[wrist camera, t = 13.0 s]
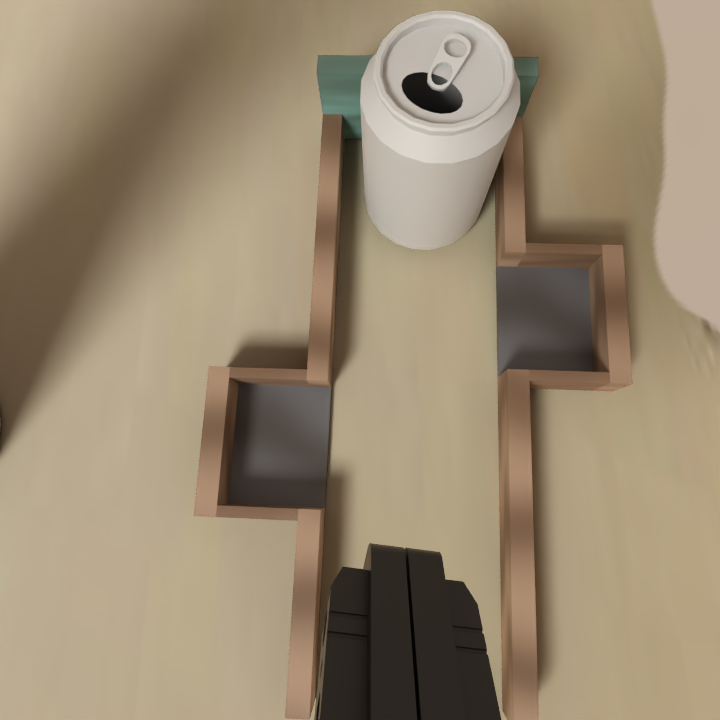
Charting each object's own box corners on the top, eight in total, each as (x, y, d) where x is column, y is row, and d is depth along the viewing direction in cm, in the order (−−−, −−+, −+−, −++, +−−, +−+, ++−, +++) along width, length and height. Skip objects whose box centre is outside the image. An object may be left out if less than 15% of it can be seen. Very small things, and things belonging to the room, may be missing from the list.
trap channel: (633, 718, 28) (698, 779, 23) (190, 692, 29) (144, 744, 24) (597, 126, 36) (639, 58, 30) (246, 121, 37) (221, 54, 31)
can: (344, 223, 35) (327, 95, 23) (399, 133, 36) (409, -31, 25) (447, 275, 34) (482, 169, 22) (500, 181, 35) (560, 33, 24)
